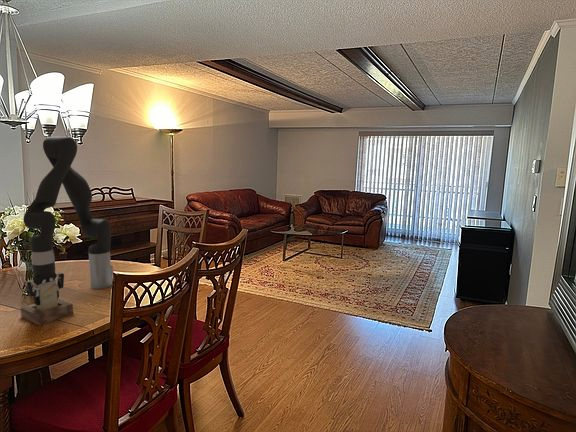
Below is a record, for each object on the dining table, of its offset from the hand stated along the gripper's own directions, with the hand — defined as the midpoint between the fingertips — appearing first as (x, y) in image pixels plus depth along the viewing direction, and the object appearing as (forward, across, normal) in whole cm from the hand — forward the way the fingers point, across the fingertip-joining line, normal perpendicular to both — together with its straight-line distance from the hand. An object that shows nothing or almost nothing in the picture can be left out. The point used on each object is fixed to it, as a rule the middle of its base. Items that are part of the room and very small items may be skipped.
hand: (46, 302), depth 152 cm
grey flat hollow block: (+6, 0, 0) cm, 6 cm away
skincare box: (+4, 0, 0) cm, 4 cm away
